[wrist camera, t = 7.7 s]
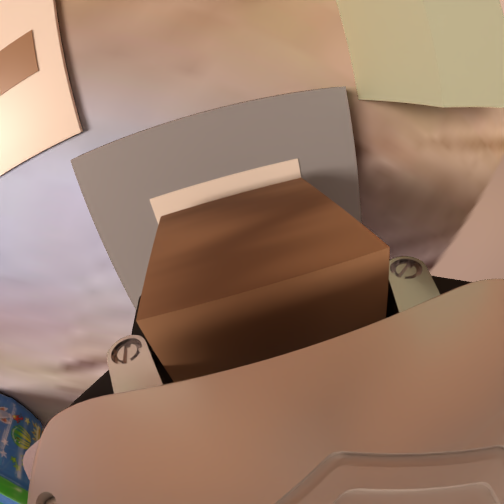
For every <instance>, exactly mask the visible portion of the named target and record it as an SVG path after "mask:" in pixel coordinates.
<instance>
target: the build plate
mask: <svg viewBox="0 0 504 504" xmlns="http://www.w3.org/2000/svg"><path fill="white" fill-rule="evenodd" d="M71 163H72V166H73V169H74V172H75V175H76V178H77V180H78V183H79V186H80V189H81V191H82V194H83V197H84V199H85V202H86V204H87V207H88V209H89V212H90V214H91V217H92V219H93V221H94V224H95V226H96V229H97V231H98V233H99V235H100V238H101V240H102V242H103V244H104V247H105V249H106V251H107V253H108V255H109V258H110V260H111V262H112V264H113V266H114V268H115V270H116V272H117V274H118V276H119V278H120V280H121V282H122V284H123V286H124V288H125V290H126V292H127V294H128V296H129V298H130V300H131V302H132V303H133V305H134V307H135V309H136V310H137V305H138V300H139V297H140V296H141V294H142V289H143V285H144V281H145V276H146V272H147V268H148V263H149V259H150V255H151V251H152V247H153V244H154V240H155V236H156V232H157V228H158V225H159V221H160V218H161V216H163V215H167V214H170V213H173V212H176V211H180V210H183V209H186V208H190V207H193V206H196V205H200V204H203V203H207V202H210V201H214V200H217V199H221V198H224V197H228V196H232V195H235V194H239V193H243V192H246V191H250V190H254V189H258V188H261V187H265V186H269V185H273V184H277V183H281V182H285V181H289V180H293V179H298V178H303V179H304V180H305V181H307V182H308V183H310V184H311V185H312V186H314V187H315V188H316V189H318V190H319V191H320V192H322V193H323V194H324V195H326V196H327V197H328V198H330V199H331V200H332V201H333V202H335V203H336V204H337V205H339V206H340V207H341V208H343V209H344V210H345V211H346V212H348V213H349V214H350V215H351V216H353V217H354V218H355V219H356V220H358V221H359V222H360V223H361V224H362V220H361V205H360V192H359V181H358V171H357V161H356V153H355V145H354V137H353V130H352V123H351V116H350V110H349V104H348V98H347V93H346V87H331V88H323V89H315V90H308V91H301V92H294V93H288V94H282V95H276V96H271V97H266V98H261V99H256V100H251V101H246V102H242V103H237V104H233V105H229V106H224V107H220V108H216V109H212V110H209V111H205V112H201V113H197V114H194V115H190V116H187V117H183V118H180V119H177V120H174V121H170V122H167V123H164V124H161V125H158V126H155V127H152V128H149V129H146V130H143V131H140V132H137V133H135V134H132V135H129V136H127V137H124V138H121V139H119V140H116V141H113V142H111V143H108V144H106V145H103V146H101V147H99V148H96V149H94V150H91V151H89V152H87V153H85V154H82V155H80V156H78V157H76V158H74V159H72V160H71Z"/></svg>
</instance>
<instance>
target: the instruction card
mask: <svg viewBox="0 0 504 504" xmlns="http://www.w3.org/2000/svg"><path fill="white" fill-rule="evenodd" d="M81 132H83V130H82V126H81V123H80V119H79V116H78V112H77V109H76V105H75V101H74V97H73V93H72V89H71V85H70V81H69V77H68V72H67V68H66V63H65V58H64V53H63V48H62V42H61V37H60V31H59V24H58V18H57V10H56V2H55V0H0V176H1V175H3V174H4V173H6V172H7V171H9V170H11V169H12V168H14V167H16V166H17V165H19V164H21V163H22V162H24V161H26V160H28V159H29V158H31V157H33V156H35V155H37V154H38V153H40V152H42V151H44V150H46V149H48V148H50V147H52V146H54V145H56V144H58V143H60V142H62V141H64V140H66V139H68V138H70V137H72V136H74V135H76V134H78V133H81Z"/></svg>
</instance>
